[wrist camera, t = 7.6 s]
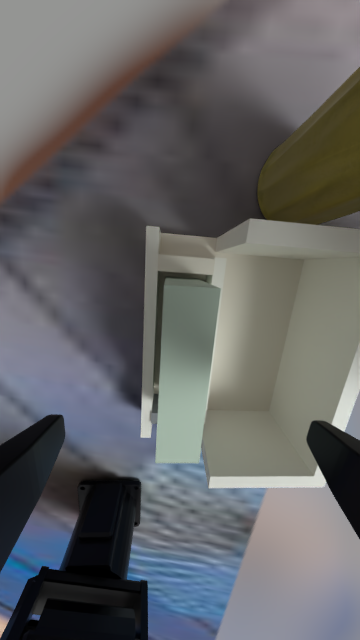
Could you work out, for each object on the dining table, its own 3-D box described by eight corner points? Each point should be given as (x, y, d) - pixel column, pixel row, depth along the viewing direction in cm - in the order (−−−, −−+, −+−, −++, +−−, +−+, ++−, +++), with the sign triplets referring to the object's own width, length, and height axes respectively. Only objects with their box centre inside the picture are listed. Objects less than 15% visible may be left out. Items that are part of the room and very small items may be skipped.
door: (187, 387, 17) (199, 463, 11) (160, 386, 17) (155, 463, 11) (197, 278, 15) (220, 288, 8) (166, 276, 15) (164, 284, 8)
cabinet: (272, 414, 20) (324, 487, 13) (144, 411, 19) (130, 488, 12) (312, 247, 16) (416, 234, 9) (149, 233, 15) (133, 207, 8)
